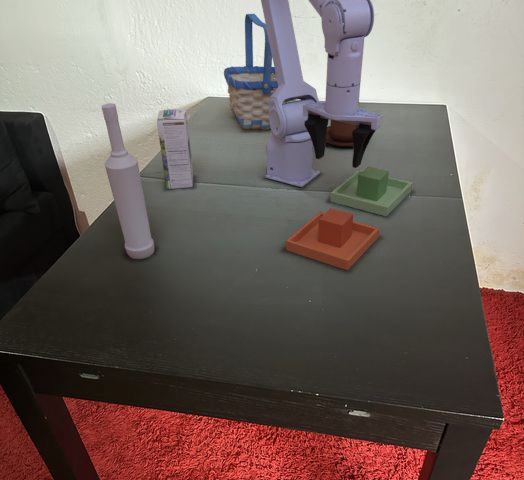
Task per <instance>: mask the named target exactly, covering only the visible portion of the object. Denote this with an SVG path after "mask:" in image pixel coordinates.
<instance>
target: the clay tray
mask: <svg viewBox="0 0 524 480" xmlns="http://www.w3.org/2000/svg"><path fill="white" fill-rule="evenodd" d="M325 213H326V212H323V211H319V212H318V213H316V214H315V216H313V217H312V218H311V219H310V220H309V221H307V222H306V223H304V224H303V226H301V227H300V228H298V230H297V231H295V232H294V233H293V234H292V235H291V236H290V237H288V238H287V239H286V240H285V251H286V252H287V251H288V252H291V253H294V254H297V255H299V256H303V257H306V258H309V259H312V260H315V261H318V262H321V263H324V264H327V265H330V266H333V267H336V268H339V269H342V270H345V271H349V270H350V269H351V267H352V266H353V265H354V264H355V263H356V262H357V261H358V260H359V259H360V258H361V257H362V256H363V255H364V253H366V252H367V250H368V249H369V248H370V247H371V246H372V245H374V243H375V242H376V241H377V240H378V239H379V237H380V229H381V228H379V227H376V226H372V225H369V224H366V223H362V222H359V221H355V220H353V224H352V235H351V237H350V238H349V240H348V241H347V242H346V243H345V244H344V245H343V246H342V247H341V248H338V247H335V246H331V245H328V244H324V243H321V242H318V229H319V219H320V218H321V217H322V216H323V215H324V214H325Z"/></svg>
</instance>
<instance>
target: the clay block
mask: <svg viewBox="0 0 524 480" xmlns="http://www.w3.org/2000/svg"><path fill="white" fill-rule="evenodd" d="M324 213H325V214H324V215H323V216H322V217H321V218H320V219H319V229H318V242H321V243H324V244H328V245H331V246H335V247H338V248H341V247H342V246H343V245H344V244H345V243H346V242H347V241H348V240H349V238H350V237H351V235H352V224H353V221H354V214H353V213H351V212H348V211H347V212H346V211H343V210H339V209H336V208H332V207H330V208H329V209H328V210H327V211H326V212H324Z"/></svg>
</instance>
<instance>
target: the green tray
mask: <svg viewBox="0 0 524 480" xmlns="http://www.w3.org/2000/svg"><path fill="white" fill-rule="evenodd" d="M363 171H364V170H360V169H357V170H356V171H355V172H354V173H352V174H351V175H350V176H349V177H348V178H347V179H345V180H343V182H342V183H340V184H339V185H338V186H337V187H336V188H335V189H333V190H332V191H331V192H330V200H329V201H330V202H331V203H335V204H339V205H342V206H346V207H350V208H354V209H356V210H361V211H364V212H368V213H372V214H376V215H379V216H383V217H388V216H389V214H390V213H391V212H393V210H394V209H396V208H397V206H398V205H400V203H402V201H404V199H406V197H407V196H408V195H409V194H410V193H412V189H413V182H411V181H406V180H403V179H398V178H394V177H390V176H388V182H387V190H386V193H385V194H384V195H383V196H382V197H381V198H380V199H379V200H378V201H373V200H370V199H366V198H362V197H358V196H357V185H358V175H359V174H360V173H361V172H363Z"/></svg>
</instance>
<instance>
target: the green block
mask: <svg viewBox="0 0 524 480" xmlns="http://www.w3.org/2000/svg"><path fill="white" fill-rule="evenodd" d="M362 171H363V172H361V173H360V174H359V175H358V185H357V196H358V197H362V198H366V199H370V200H373V201H378V200H379V199H380V198H381V197H382V196H383V195H384V194H385V193H386V190H387V182H388V177H389V174H390V171H389V170H385V169H381V168H376V167H371V166H367V167H366V168H365V169H364V170H362Z"/></svg>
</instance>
